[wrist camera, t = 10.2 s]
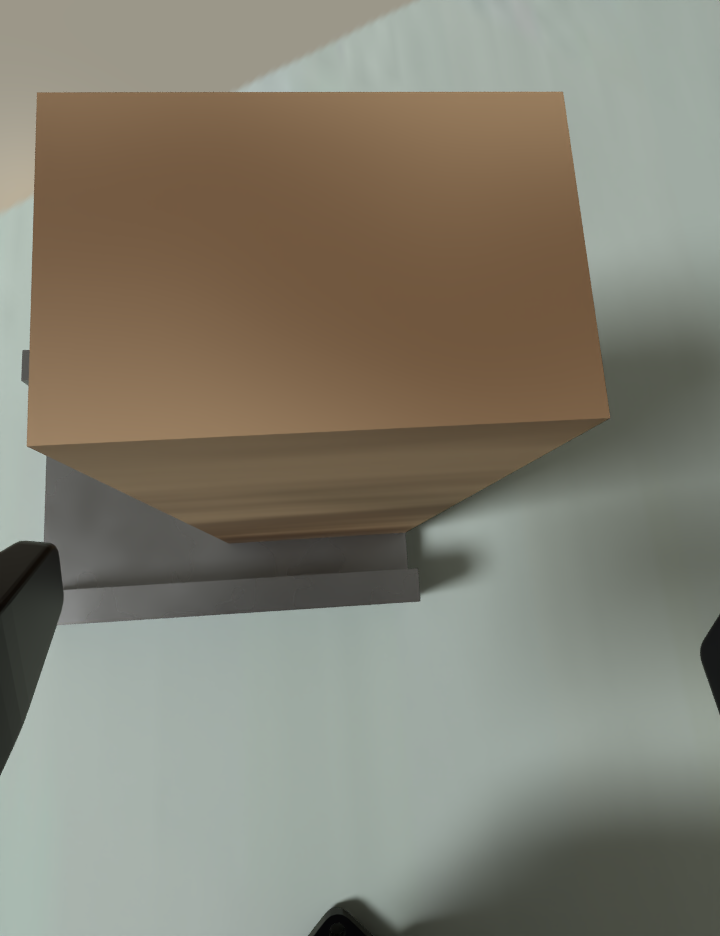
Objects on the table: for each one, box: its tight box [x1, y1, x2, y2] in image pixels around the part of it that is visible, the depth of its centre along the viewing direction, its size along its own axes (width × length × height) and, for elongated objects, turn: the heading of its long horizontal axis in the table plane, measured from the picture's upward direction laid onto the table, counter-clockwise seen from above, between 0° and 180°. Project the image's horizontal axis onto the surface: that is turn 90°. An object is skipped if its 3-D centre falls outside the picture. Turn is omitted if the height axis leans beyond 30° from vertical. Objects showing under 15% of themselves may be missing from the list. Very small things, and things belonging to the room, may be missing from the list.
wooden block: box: [27, 92, 610, 544], centre depth 14 cm, size 4×6×15 cm, turn 94°
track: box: [21, 350, 420, 625], centre depth 21 cm, size 12×8×3 cm
